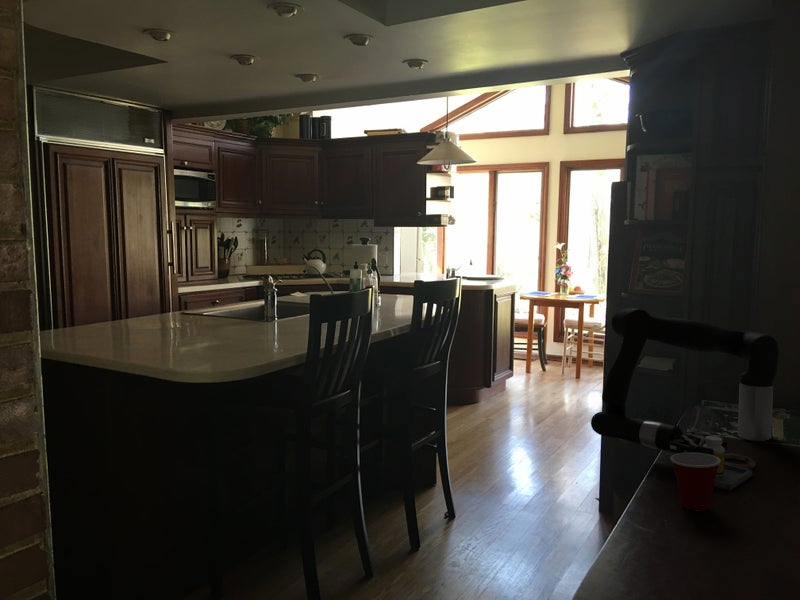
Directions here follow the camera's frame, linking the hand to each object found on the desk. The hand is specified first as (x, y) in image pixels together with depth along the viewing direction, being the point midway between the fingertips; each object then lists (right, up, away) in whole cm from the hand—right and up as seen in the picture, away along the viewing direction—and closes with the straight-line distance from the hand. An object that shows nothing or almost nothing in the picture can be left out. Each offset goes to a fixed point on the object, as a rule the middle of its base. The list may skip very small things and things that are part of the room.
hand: (720, 449), depth 167 cm
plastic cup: (-15, -10, -17) cm, 25 cm away
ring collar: (+10, -6, +11) cm, 16 cm away
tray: (-1, -7, +2) cm, 8 cm away
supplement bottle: (-1, -7, +2) cm, 7 cm away
